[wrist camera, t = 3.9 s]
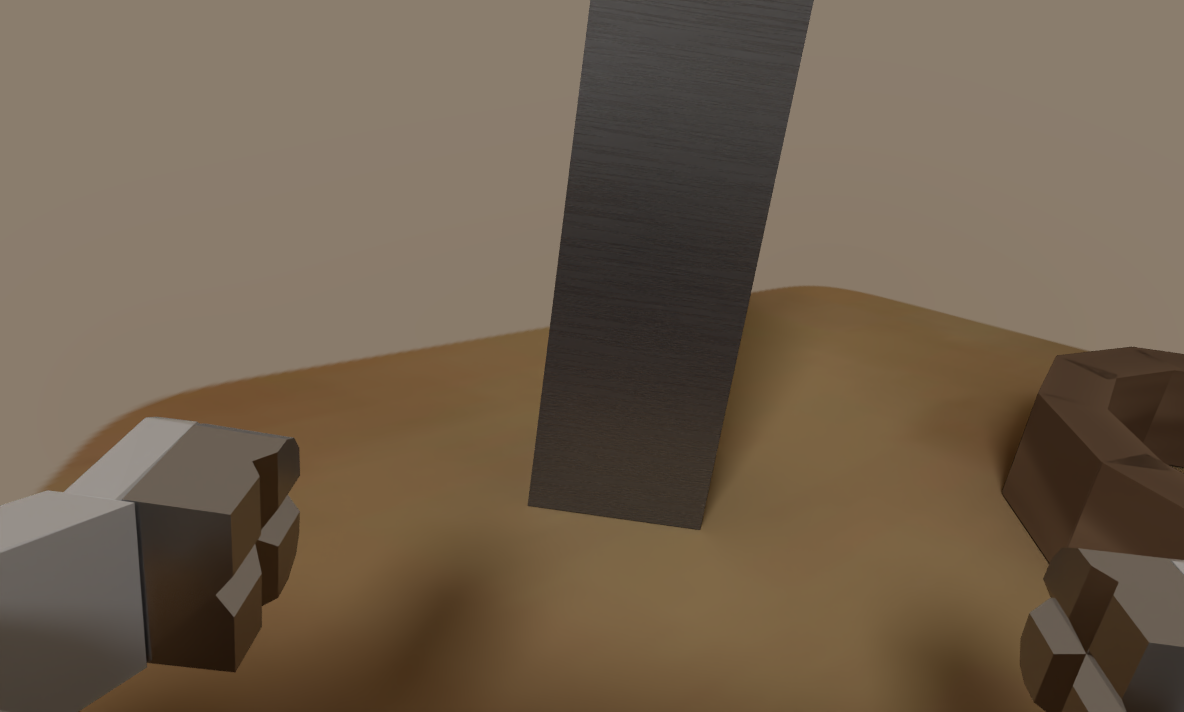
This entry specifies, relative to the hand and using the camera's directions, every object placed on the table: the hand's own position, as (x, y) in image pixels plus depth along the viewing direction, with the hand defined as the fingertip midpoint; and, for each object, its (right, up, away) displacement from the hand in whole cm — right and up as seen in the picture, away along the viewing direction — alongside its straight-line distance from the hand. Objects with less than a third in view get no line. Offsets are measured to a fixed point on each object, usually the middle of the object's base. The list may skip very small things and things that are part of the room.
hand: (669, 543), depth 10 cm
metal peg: (0, -1, +13) cm, 13 cm away
